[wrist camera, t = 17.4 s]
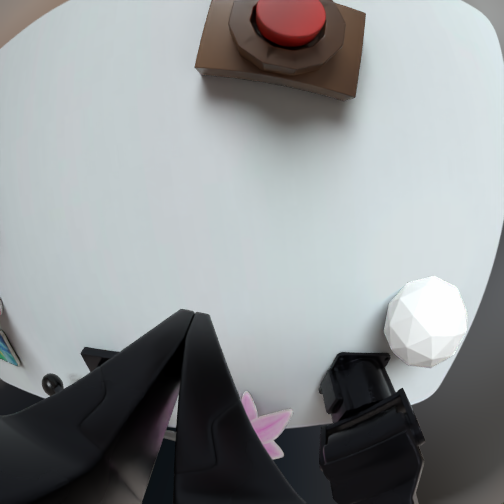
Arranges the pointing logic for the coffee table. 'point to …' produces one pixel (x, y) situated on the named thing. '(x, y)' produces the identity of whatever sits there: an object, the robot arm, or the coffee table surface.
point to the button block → (283, 50)
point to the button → (290, 21)
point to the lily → (267, 425)
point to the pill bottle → (1, 308)
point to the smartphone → (7, 351)
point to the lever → (52, 384)
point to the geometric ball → (426, 322)
